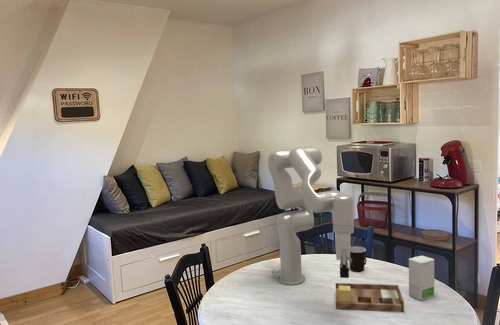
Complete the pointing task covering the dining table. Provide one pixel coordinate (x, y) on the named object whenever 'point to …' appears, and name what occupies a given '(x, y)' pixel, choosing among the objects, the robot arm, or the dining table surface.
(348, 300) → the ochre block
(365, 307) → the board
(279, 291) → the dining table surface
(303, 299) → the dining table surface
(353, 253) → the coffee mug
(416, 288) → the skincare box
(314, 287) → the dining table surface
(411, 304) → the dining table surface
